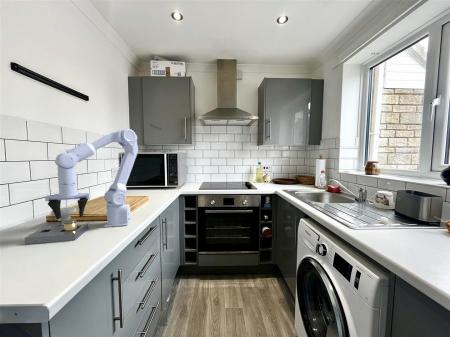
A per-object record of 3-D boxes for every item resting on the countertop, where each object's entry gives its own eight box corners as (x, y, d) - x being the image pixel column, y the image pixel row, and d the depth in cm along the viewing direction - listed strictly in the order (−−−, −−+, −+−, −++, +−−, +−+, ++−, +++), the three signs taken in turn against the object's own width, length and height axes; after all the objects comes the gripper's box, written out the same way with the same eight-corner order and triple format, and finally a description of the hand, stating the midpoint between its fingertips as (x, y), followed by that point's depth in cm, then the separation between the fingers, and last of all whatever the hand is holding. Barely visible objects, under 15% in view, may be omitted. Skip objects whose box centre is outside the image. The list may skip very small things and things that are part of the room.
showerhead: (43, 211, 91) (63, 205, 101) (44, 227, 92) (64, 219, 102) (62, 211, 90) (80, 205, 100) (64, 227, 91) (81, 220, 101)
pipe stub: (79, 233, 84) (78, 219, 84) (69, 237, 80) (68, 222, 80) (72, 232, 85) (71, 218, 85) (62, 236, 81) (61, 221, 81)
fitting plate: (88, 228, 90) (88, 222, 89) (75, 240, 78) (74, 233, 78) (45, 232, 86) (45, 225, 86) (24, 244, 74) (24, 237, 74)
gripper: (91, 181, 87) (93, 212, 88) (50, 183, 83) (53, 216, 84) (86, 183, 81) (88, 217, 82) (41, 186, 76) (44, 221, 77)
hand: (70, 217), depth 82 cm, fingers open, 7 cm apart
